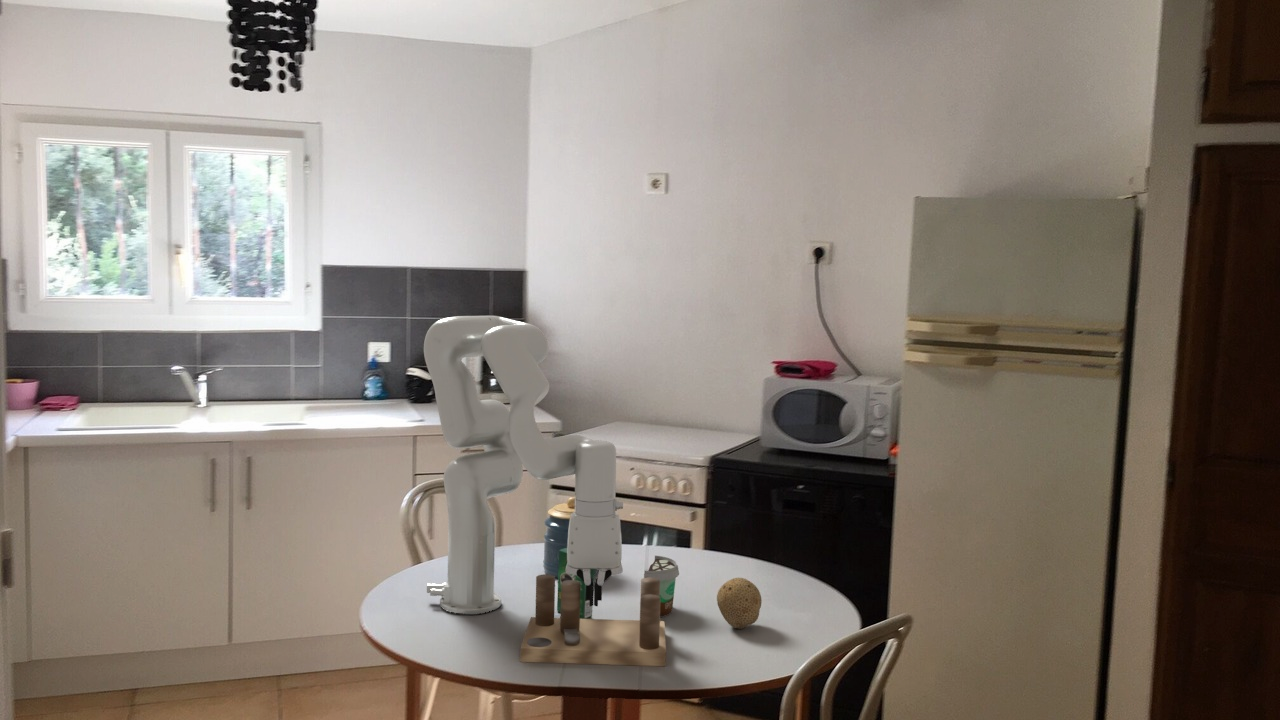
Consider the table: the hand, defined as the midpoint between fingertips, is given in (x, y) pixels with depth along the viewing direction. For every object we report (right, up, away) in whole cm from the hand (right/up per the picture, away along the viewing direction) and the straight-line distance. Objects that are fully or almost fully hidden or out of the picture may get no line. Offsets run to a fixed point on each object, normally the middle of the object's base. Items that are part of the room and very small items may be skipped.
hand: (593, 603), depth 187 cm
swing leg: (-4, -5, -2) cm, 7 cm away
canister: (-7, -4, +45) cm, 46 cm away
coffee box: (-5, -7, +17) cm, 18 cm away
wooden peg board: (0, -8, 0) cm, 8 cm away
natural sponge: (+28, -8, +12) cm, 32 cm away
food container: (+13, -7, +20) cm, 25 cm away
